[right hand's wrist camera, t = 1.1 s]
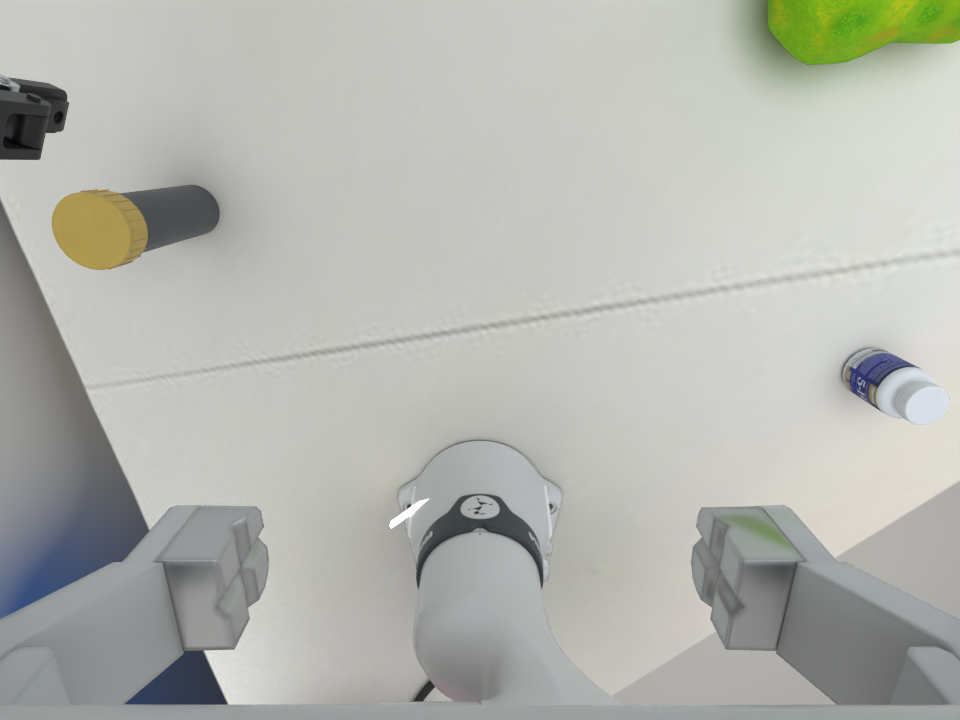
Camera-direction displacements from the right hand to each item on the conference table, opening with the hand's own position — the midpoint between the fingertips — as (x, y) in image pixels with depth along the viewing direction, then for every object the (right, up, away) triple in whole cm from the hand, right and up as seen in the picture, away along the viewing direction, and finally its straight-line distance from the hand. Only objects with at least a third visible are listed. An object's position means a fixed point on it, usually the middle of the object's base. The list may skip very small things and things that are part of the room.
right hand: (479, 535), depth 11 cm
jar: (-28, +18, +45) cm, 55 cm away
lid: (-28, +12, +30) cm, 43 cm away
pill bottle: (+41, +2, +50) cm, 65 cm away
